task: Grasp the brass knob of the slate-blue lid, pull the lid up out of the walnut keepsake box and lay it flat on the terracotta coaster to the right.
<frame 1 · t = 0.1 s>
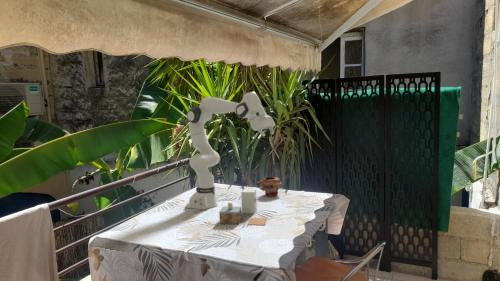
hand: (268, 135, 216), 54 cm above the table, tool tilted 30°, fingers open, 8 cm apart
lid: (230, 212, 222), point 6 cm above the table, touching walnut box
supplement box: (249, 211, 240), on the table
decorative planter: (269, 195, 277), on the table
coaster: (257, 221, 220), on the table
walnut box: (231, 221, 223), on the table
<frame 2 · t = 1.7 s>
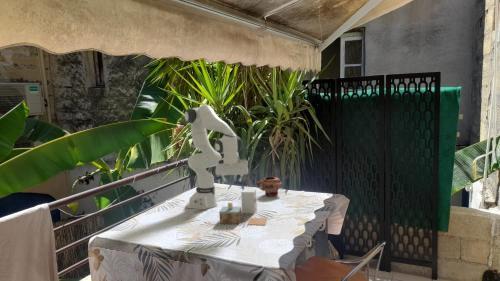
hand: (232, 181, 219), 26 cm above the table, tool pointing down, fingers open, 8 cm apart
nothing on the table moved.
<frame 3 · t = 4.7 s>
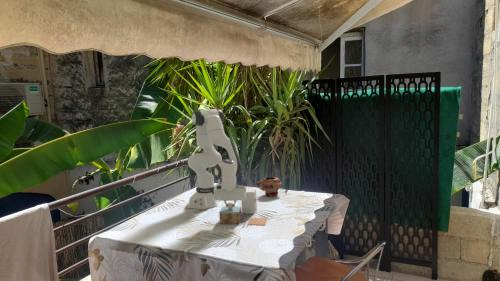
hand: (230, 206, 222), 10 cm above the table, tool pointing down, fingers closed on lid, 3 cm apart
lid: (230, 212, 222), point 6 cm above the table, touching gripper, walnut box
everything else where it was.
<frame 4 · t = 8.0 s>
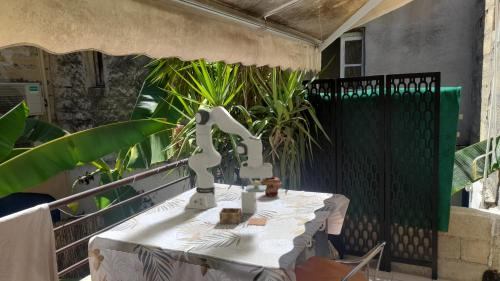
hand: (256, 184, 217), 24 cm above the table, tool pointing down, fingers closed on lid, 3 cm apart
lid: (256, 190, 217), point 20 cm above the table, touching gripper
everything else where it was.
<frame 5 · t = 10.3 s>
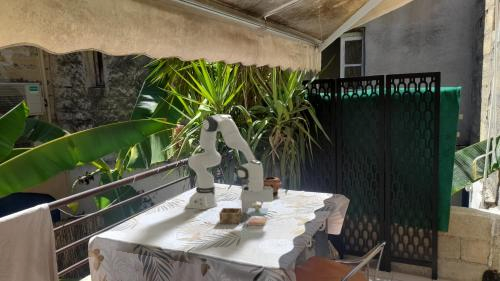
hand: (257, 208, 219), 9 cm above the table, tool pointing down, fingers closed on lid, 3 cm apart
lid: (257, 213, 219), point 5 cm above the table, touching gripper
everything else where it was.
when the fingers open (6 cm above the table, at t = 11.8 s): lid drops 1 cm, resting on coaster.
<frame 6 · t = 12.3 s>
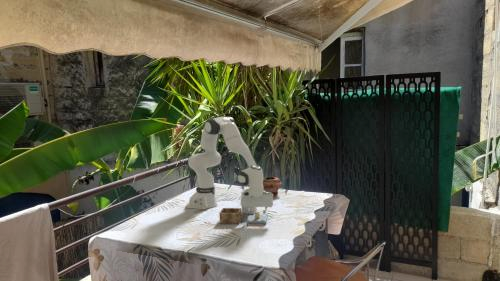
hand: (257, 213, 220), 6 cm above the table, tool pointing down, fingers open, 8 cm apart
lid: (257, 221, 220), resting on coaster
everything else where it was.
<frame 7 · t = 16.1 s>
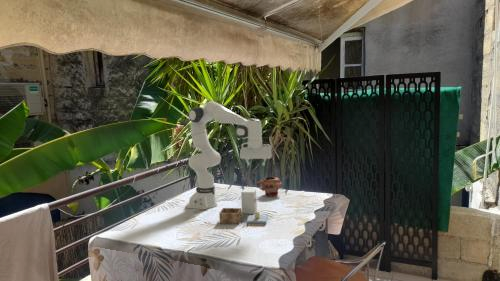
hand: (256, 165, 225), 34 cm above the table, tool pointing down, fingers open, 8 cm apart
nothing on the table moved.
at the end: lid inside the target area on the coaster (0.1 cm from its centre), point 0.4 cm above the coaster's base; lid tilted 0°; lid touching coaster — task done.
